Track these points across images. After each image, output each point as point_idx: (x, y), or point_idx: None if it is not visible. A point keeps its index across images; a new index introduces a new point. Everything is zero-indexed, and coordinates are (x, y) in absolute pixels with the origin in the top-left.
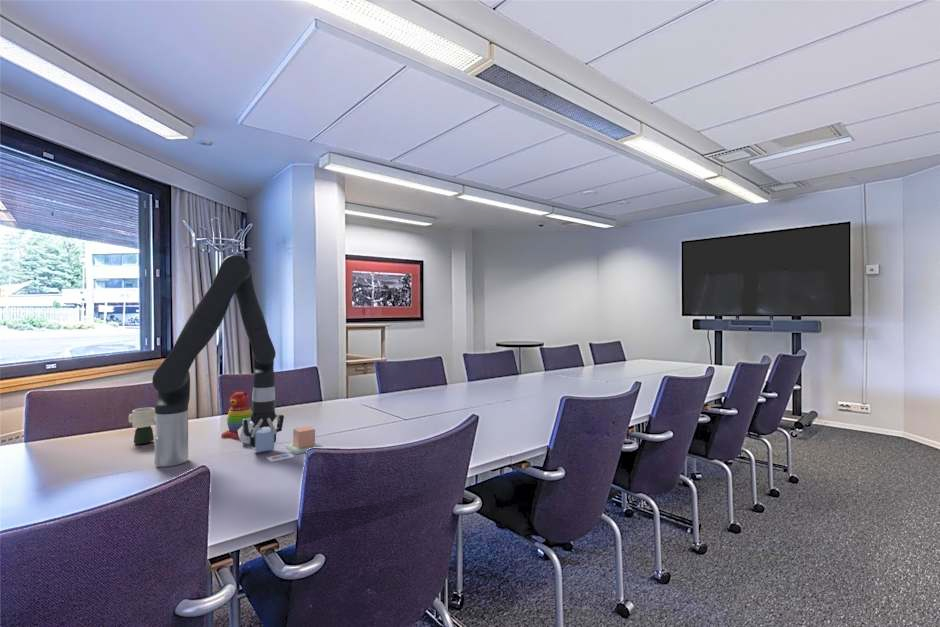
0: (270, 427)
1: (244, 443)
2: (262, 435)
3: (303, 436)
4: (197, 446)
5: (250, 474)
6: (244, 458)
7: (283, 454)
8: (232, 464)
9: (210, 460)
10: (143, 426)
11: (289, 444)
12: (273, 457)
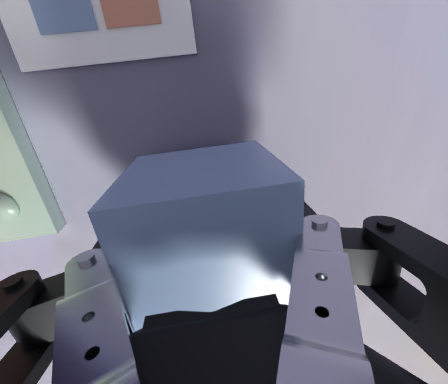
0: (119, 299)
1: None
2: (231, 185)
3: None
4: (402, 365)
5: None
6: (312, 128)
7: (73, 54)
8: (399, 39)
9: (443, 183)
10: None
11: (33, 228)
12: (149, 7)
